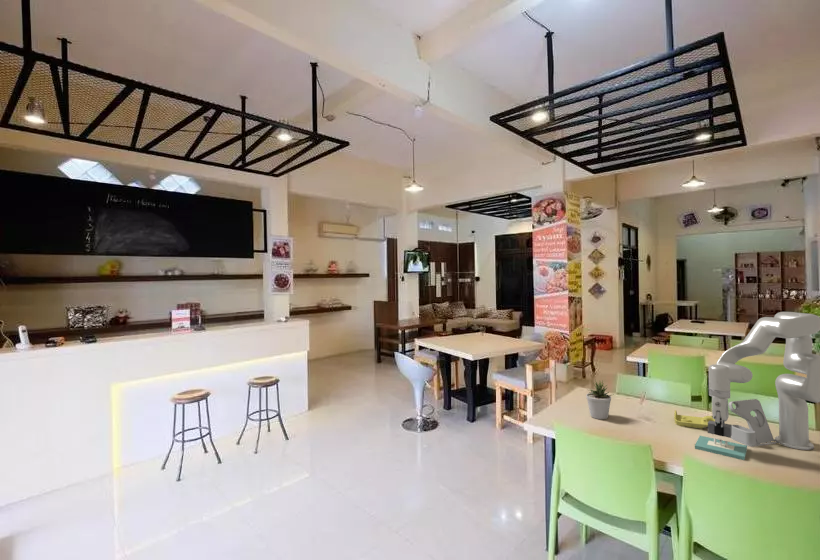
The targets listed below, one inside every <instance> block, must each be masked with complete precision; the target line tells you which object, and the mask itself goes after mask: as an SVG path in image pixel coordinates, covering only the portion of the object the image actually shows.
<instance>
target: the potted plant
mask: <svg viewBox="0 0 820 560" xmlns="http://www.w3.org/2000/svg"><path fill="white" fill-rule="evenodd" d="M594 381H595V382H593V386H594V387H595V390H593V389H591V388H589V389H587V391H589V392H587V394H585V396H586V400H587V406H588V410H589V415H590V416H592V417H591V418H593V419H597V420H606V419H608V417H609V414H610V409H611V408H610V406H611V401H612V396H613V395H614V394H609V392H610V391H608V392H606V391H607V389H608V384H606V385H605V386H604V383H603V382H604V381H603V379H602V382H601V381H599V382H597V381H596V379H595V380H594Z"/></svg>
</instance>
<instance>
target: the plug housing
mask: <svg viewBox="0 0 820 560" xmlns="http://www.w3.org/2000/svg"><path fill="white" fill-rule="evenodd" d="M714 425H715V421H710V420H709V422H708V427H707V434H709V435H715V433H714ZM732 425H733V424H729V423H723V427H724V436H723V437H724V438H730V439H731V437H732Z"/></svg>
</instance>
